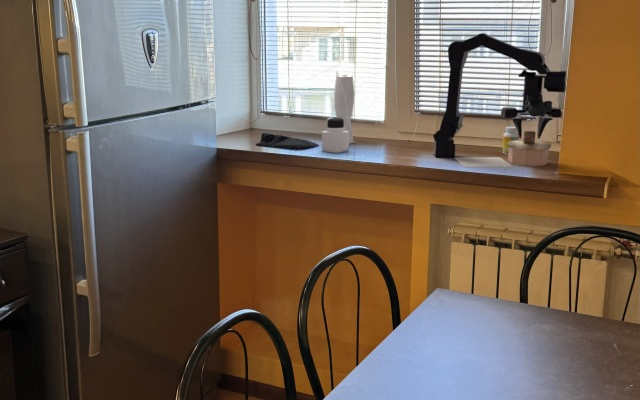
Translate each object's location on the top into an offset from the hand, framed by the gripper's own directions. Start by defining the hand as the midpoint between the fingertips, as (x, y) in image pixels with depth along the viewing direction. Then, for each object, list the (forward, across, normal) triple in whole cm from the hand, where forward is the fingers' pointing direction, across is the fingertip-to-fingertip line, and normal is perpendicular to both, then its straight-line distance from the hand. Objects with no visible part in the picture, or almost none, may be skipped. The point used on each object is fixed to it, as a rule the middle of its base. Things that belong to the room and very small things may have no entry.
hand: (529, 138), depth 252 cm
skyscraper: (+9, -59, +43) cm, 73 cm away
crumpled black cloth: (+9, -80, +38) cm, 89 cm away
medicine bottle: (+9, -63, +26) cm, 69 cm away
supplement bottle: (+9, -1, +18) cm, 20 cm away
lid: (+2, 0, 0) cm, 3 cm away
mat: (+8, -15, +1) cm, 17 cm away
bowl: (+8, 0, 0) cm, 9 cm away
